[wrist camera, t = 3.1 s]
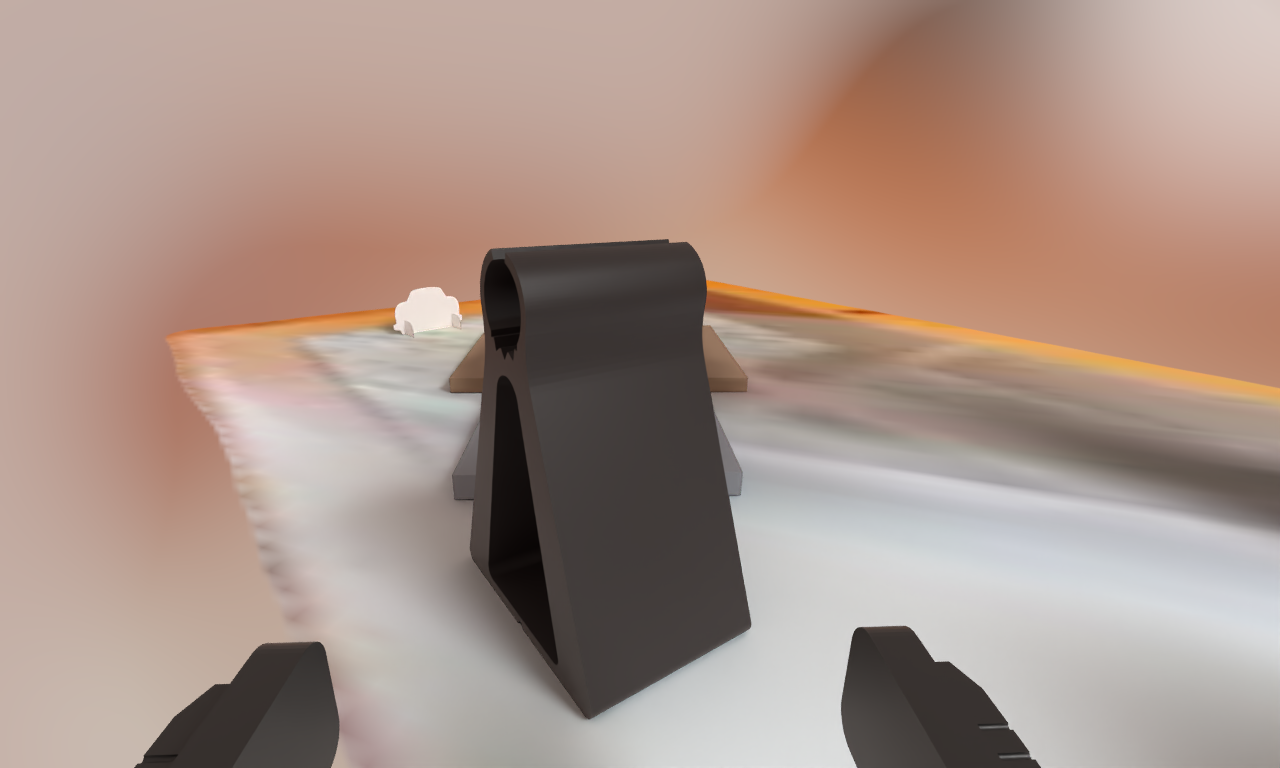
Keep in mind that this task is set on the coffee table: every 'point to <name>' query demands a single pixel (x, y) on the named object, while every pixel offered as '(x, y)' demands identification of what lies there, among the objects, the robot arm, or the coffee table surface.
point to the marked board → (717, 357)
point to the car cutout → (427, 311)
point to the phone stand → (604, 464)
